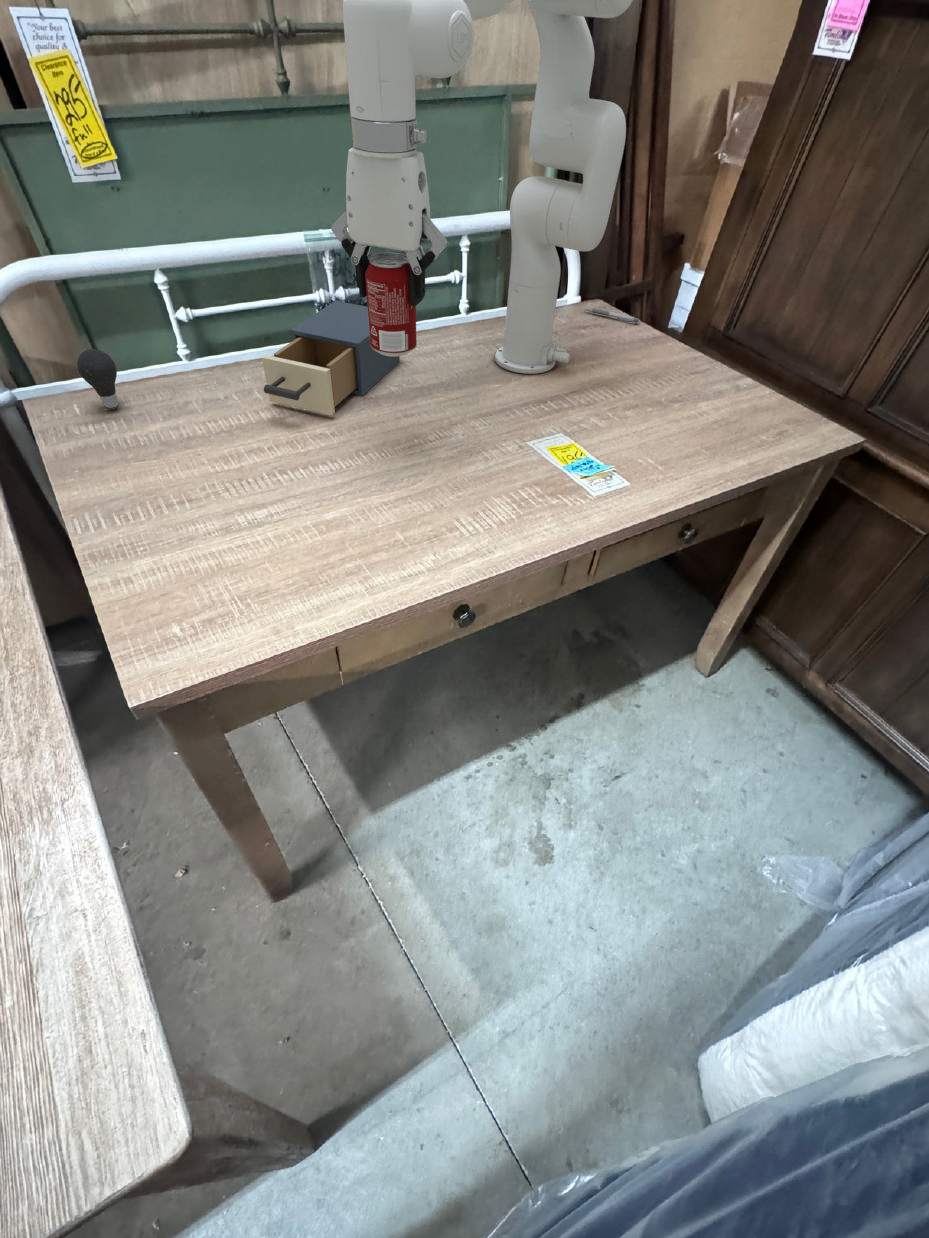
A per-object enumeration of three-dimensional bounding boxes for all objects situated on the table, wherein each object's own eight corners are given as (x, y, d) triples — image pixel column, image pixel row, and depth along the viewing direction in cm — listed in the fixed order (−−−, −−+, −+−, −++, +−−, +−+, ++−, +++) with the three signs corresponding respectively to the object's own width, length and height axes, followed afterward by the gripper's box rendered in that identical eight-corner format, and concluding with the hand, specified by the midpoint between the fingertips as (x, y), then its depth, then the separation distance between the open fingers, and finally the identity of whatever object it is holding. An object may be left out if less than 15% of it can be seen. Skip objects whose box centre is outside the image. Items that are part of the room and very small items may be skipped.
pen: (638, 325, 145) (640, 319, 144) (583, 313, 149) (584, 306, 148) (639, 324, 145) (641, 318, 144) (584, 311, 149) (585, 305, 148)
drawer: (316, 429, 103) (310, 384, 97) (253, 413, 106) (243, 369, 100) (371, 379, 117) (369, 337, 111) (314, 367, 119) (308, 325, 114)
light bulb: (94, 403, 108) (71, 345, 100) (129, 398, 109) (108, 341, 102) (95, 418, 104) (70, 359, 97) (131, 413, 106) (109, 355, 99)
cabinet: (362, 396, 114) (358, 343, 107) (298, 381, 117) (290, 329, 110) (399, 362, 125) (398, 312, 118) (340, 349, 128) (335, 300, 121)
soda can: (410, 361, 87) (408, 269, 79) (364, 356, 88) (357, 263, 79) (421, 343, 92) (420, 253, 83) (377, 338, 93) (372, 248, 84)
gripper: (464, 140, 73) (459, 299, 86) (333, 125, 76) (347, 280, 89) (441, 150, 68) (440, 318, 81) (302, 134, 71) (322, 297, 84)
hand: (391, 297), depth 85 cm, fingers closed on soda can, 6 cm apart
